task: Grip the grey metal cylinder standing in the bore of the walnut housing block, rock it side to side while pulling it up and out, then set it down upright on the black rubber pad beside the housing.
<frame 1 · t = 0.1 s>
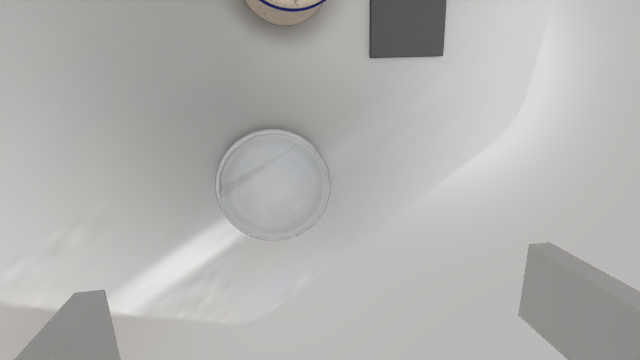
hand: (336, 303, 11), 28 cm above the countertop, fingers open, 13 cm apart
pad: (406, 16, 36), on the countertop
ramekin: (272, 173, 38), on the countertop
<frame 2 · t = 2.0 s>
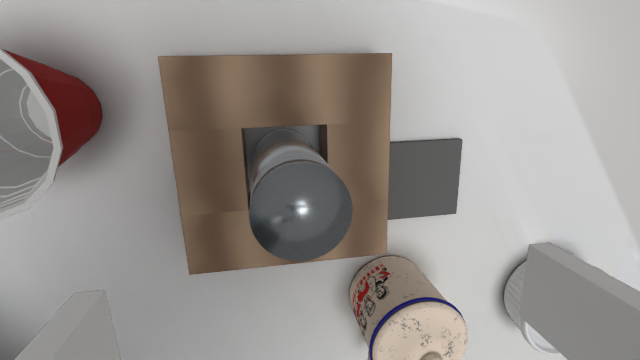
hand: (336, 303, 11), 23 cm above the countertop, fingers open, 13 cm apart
pad: (420, 178, 36), on the countertop
plastic cup: (66, 112, 29), on the countertop
teacup with lid: (380, 299, 39), on the countertop
ramekin: (534, 285, 42), on the countertop
grey metal cylinder: (290, 178, 25), in the housing
housing: (284, 158, 33), on the countertop
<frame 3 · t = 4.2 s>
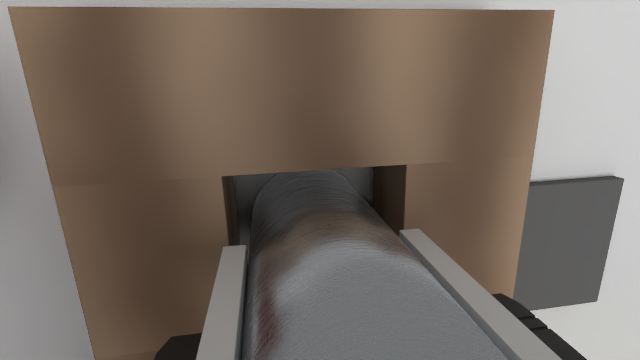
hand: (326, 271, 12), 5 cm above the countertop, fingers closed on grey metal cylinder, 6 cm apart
pad: (542, 245, 20), on the countertop
grey metal cylinder: (338, 308, 10), in the housing, touching gripper
housing: (307, 218, 18), on the countertop
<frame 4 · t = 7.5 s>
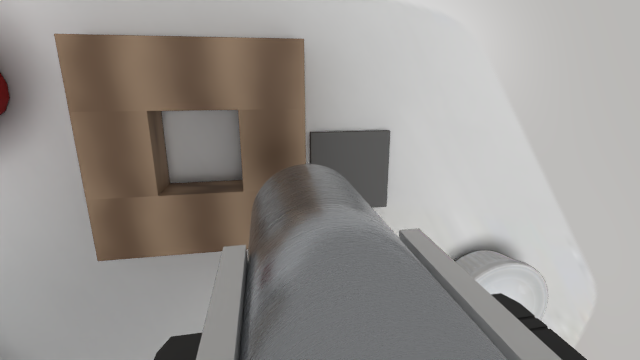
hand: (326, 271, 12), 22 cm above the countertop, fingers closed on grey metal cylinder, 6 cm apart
pad: (349, 170, 35), on the countertop
ramekin: (472, 282, 42), on the countertop
grey metal cylinder: (337, 307, 10), point 24 cm above the countertop, touching gripper
housing: (204, 145, 32), on the countertop
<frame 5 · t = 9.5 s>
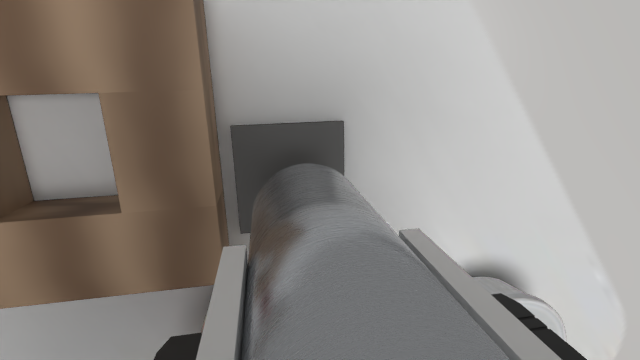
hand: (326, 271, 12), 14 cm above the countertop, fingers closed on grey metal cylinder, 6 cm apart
pad: (290, 176, 26), on the countertop
ramekin: (465, 316, 33), on the countertop
grey metal cylinder: (338, 305, 10), point 16 cm above the countertop, touching gripper
housing: (79, 147, 23), on the countertop
when the fingers open (7 cm above the countertop, at t = 11.1 s): grey metal cylinder stays where it is, resting on pad.
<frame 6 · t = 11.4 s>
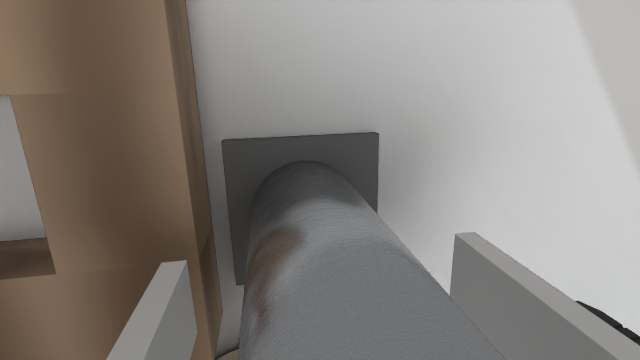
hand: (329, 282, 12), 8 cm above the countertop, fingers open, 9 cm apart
pad: (304, 207, 19), on the countertop
grey metal cylinder: (331, 291, 11), on the pad, point 8 cm above the countertop
housing: (6, 171, 16), on the countertop
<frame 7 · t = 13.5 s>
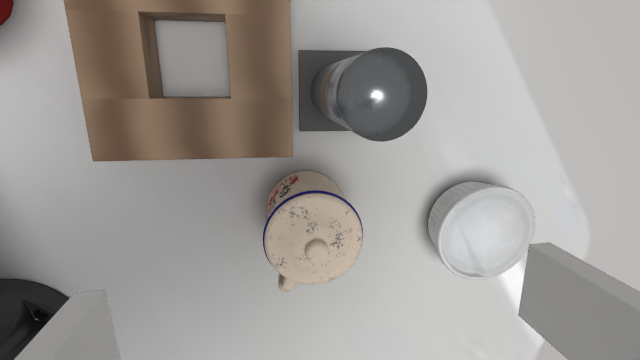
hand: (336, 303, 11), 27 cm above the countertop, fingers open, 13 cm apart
pad: (337, 91, 36), on the countertop
teacup with lid: (300, 216, 39), on the countertop
ramekin: (461, 216, 42), on the countertop
grey metal cylinder: (354, 93, 28), on the pad, point 8 cm above the countertop
housing: (196, 60, 33), on the countertop
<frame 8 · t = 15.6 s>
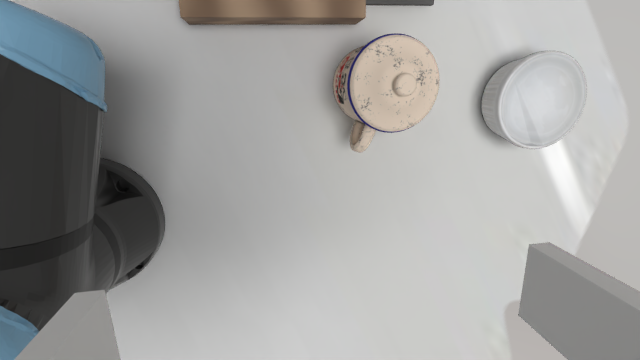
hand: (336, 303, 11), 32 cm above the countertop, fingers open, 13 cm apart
teacup with lid: (362, 96, 41), on the countertop
ramekin: (511, 99, 44), on the countertop
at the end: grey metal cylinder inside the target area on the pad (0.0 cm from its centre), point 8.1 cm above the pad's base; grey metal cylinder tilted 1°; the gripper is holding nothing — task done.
